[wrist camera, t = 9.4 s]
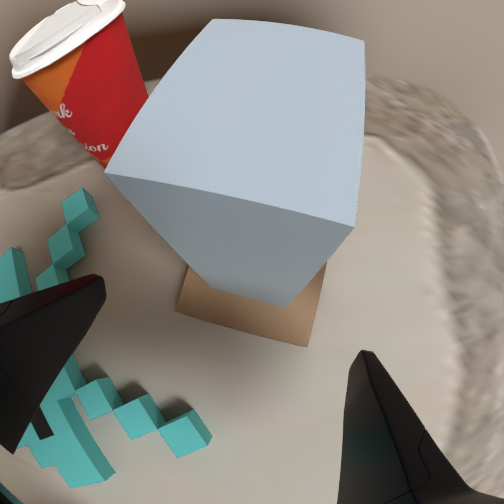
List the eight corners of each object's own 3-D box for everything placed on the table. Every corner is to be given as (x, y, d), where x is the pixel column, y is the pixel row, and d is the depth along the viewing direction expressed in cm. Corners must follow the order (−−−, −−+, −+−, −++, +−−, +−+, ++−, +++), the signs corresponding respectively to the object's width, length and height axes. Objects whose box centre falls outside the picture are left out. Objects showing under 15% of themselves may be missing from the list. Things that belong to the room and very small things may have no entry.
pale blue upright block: (286, 308, 16) (354, 227, 4) (211, 288, 17) (103, 172, 5) (308, 215, 18) (364, 41, 6) (240, 198, 18) (212, 19, 6)
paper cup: (90, 141, 22) (17, 35, 9) (162, 105, 23) (116, -22, 9) (100, 204, 20) (-13, 87, 7) (186, 162, 21) (124, -1, 7)
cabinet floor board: (304, 346, 17) (317, 349, 13) (180, 312, 17) (157, 305, 13) (335, 200, 19) (350, 168, 15) (226, 175, 20) (219, 139, 16)
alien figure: (95, 199, 21) (-26, 306, 18) (82, 187, 19) (-40, 303, 16) (213, 434, 15) (45, 486, 13) (207, 445, 13) (32, 493, 11)
